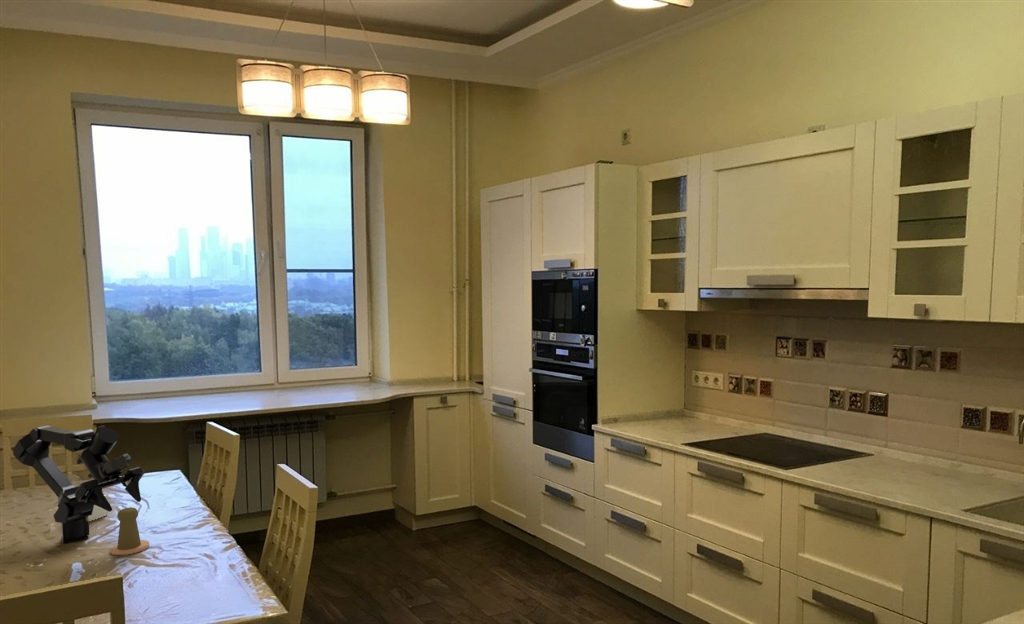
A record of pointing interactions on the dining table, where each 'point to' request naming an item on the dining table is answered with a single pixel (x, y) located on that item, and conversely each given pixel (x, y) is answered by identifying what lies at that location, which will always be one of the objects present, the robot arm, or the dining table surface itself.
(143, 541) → the peach round disc
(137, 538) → the cork
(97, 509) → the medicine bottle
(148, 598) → the dining table surface
